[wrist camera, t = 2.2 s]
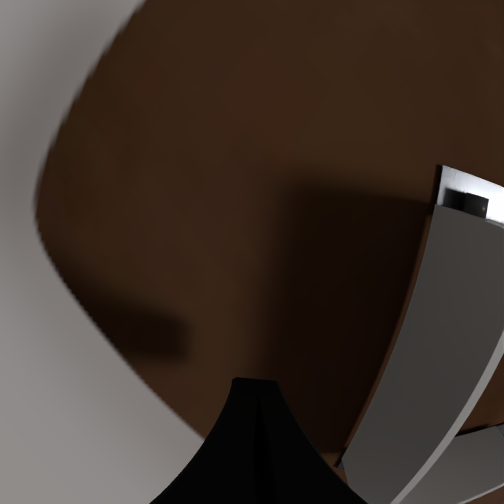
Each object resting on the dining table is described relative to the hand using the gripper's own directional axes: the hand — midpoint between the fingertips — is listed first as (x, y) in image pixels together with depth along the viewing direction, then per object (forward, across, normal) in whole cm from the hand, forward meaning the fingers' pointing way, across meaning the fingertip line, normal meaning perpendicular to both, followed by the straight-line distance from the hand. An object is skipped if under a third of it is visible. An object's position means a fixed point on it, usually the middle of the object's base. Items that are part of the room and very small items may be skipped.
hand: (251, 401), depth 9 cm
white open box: (+3, -12, 0) cm, 12 cm away
